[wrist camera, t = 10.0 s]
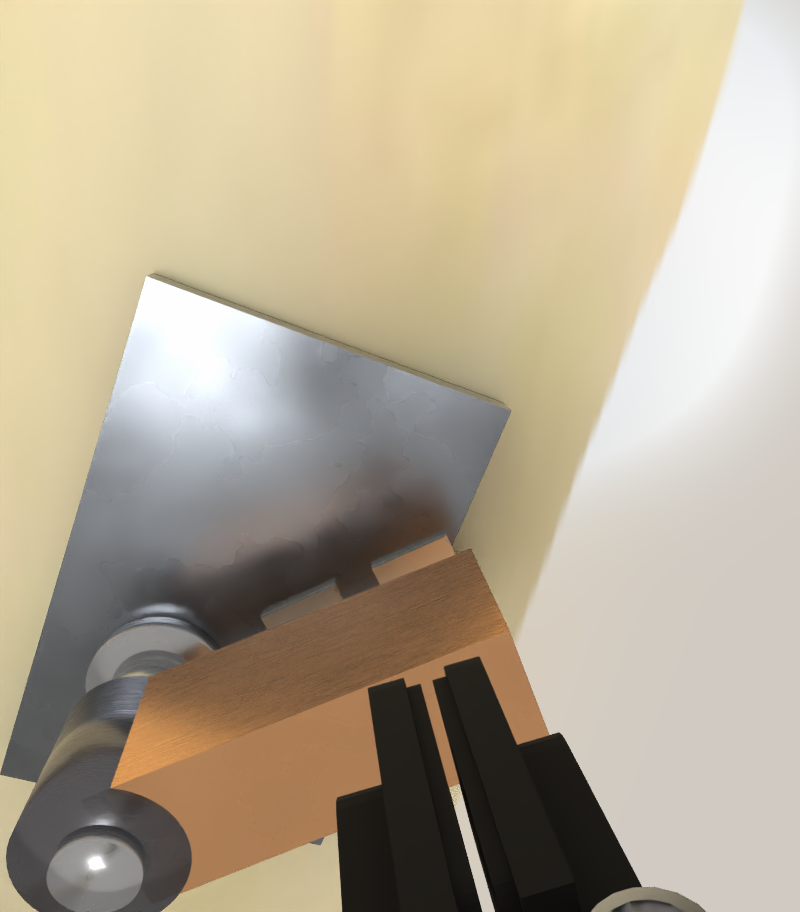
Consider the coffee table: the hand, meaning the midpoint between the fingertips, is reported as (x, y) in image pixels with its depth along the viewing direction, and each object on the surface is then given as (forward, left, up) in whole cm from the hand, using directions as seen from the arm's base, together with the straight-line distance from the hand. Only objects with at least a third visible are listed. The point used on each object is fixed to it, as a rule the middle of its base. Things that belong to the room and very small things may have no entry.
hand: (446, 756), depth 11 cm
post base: (-8, +2, -18) cm, 19 cm away
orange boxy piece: (-8, 0, -13) cm, 15 cm away
